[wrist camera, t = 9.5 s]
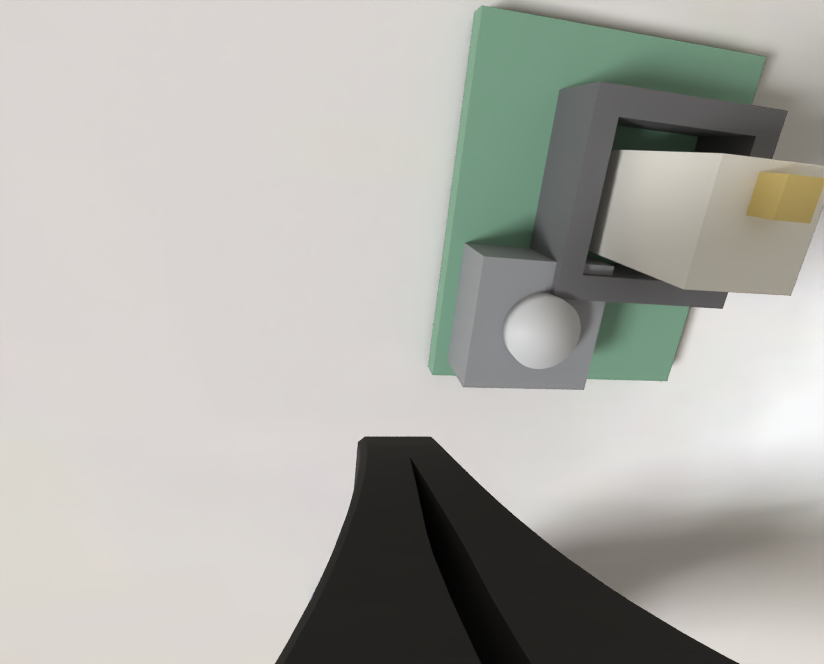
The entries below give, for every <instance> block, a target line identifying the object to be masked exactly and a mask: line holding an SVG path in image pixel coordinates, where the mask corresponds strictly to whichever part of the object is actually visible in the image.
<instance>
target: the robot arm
mask: <svg viewBox="0 0 824 664" xmlns="http://www.w3.org/2000/svg"><path fill="white" fill-rule="evenodd" d="M275 664H739V663H737V662H735V661H733V660H731V659H729V658H727V657H725V656H724V655H722V654H720V653H718V652H716V651H715V650H713V649H711V648H709V647H707V646H706V645H704V644H702V643H700V642H698V641H696V640H695V639H693V638H691V637H689V636H687V635H686V634H684V633H682V632H681V631H679V630H677V629H676V628H674V627H672V626H671V625H669V624H667V623H666V622H664V621H662V620H661V619H659V618H657V617H656V616H654V615H652V614H651V613H649V612H647V611H646V610H644V609H642V608H641V607H639V606H637V605H636V604H634V603H632V602H631V601H629V600H628V599H626V598H625V597H623V596H622V595H620V594H619V593H617V592H615V591H614V590H612V589H611V588H609V587H608V586H606V585H605V584H603V583H602V582H601V581H599V580H598V579H596V578H595V577H594V576H592V575H591V574H589V573H588V572H586V571H585V570H584V569H582V568H581V567H579V566H578V565H576V564H575V563H574V562H572V561H571V560H569V559H568V558H567V557H565V556H564V555H563V554H561V553H560V552H559V551H557V550H556V549H555V548H553V547H552V546H551V545H549V544H548V543H547V542H546V541H544V540H543V539H542V538H541V537H540V536H538V535H537V534H536V533H535V532H533V531H532V530H531V529H530V528H529V527H527V526H526V525H525V524H524V523H523V522H521V521H520V520H519V519H518V518H517V517H515V516H514V515H513V514H512V513H511V512H510V511H508V510H507V509H506V508H505V507H504V506H503V505H502V504H501V503H499V502H498V501H497V500H496V499H495V498H494V497H493V496H492V495H491V494H490V493H489V492H487V491H486V490H485V489H484V488H483V487H482V486H481V485H480V484H479V483H478V482H477V481H476V480H475V479H474V478H473V477H472V476H471V475H470V474H469V473H468V472H466V471H465V470H464V469H463V468H462V467H461V466H460V465H459V464H458V463H457V462H456V461H455V460H454V459H453V458H452V457H451V456H450V455H449V454H448V453H447V452H446V451H445V450H444V449H443V448H442V447H441V446H440V445H439V444H438V443H437V442H436V441H435V440H434V439H433V438H432V437H364V438H363V439H361V440H360V441H359V442H358V448H357V460H356V472H355V484H354V492H353V496H352V499H351V503H350V506H349V510H348V513H347V516H346V518H345V521H344V524H343V526H342V529H341V532H340V534H339V537H338V540H337V542H336V545H335V548H334V550H333V553H332V555H331V557H330V560H329V562H328V564H327V566H326V569H325V571H324V573H323V575H322V577H321V579H320V581H319V584H318V586H317V588H316V590H315V592H314V594H313V595H312V596H311V599H310V602H309V604H308V606H307V608H306V609H305V611H304V613H303V615H302V617H301V619H300V620H299V622H298V624H297V626H296V628H295V630H294V631H293V633H292V635H291V637H290V639H289V641H288V642H287V644H286V646H285V648H284V649H283V651H282V653H281V654H280V656H279V658H278V660H277V661H276V663H275Z"/></svg>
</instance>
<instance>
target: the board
mask: <svg viewBox="0 0 824 664" xmlns="http://www.w3.org/2000/svg"><path fill="white" fill-rule="evenodd" d="M765 60H766V57H765V56H759V55H754V54H748V53H743V52H737V51H732V50H726V49H720V48H715V47H709V46H704V45H698V44H693V43H687V42H682V41H676V40H671V39H665V38H660V37H654V36H649V35H643V34H637V33H632V32H626V31H621V30H615V29H610V28H604V27H599V26H593V25H588V24H582V23H577V22H571V21H566V20H560V19H555V18H549V17H543V16H538V15H532V14H527V13H521V12H516V11H510V10H505V9H499V8H494V7H488V6H483V5H482V6H481V7H480V8H478V9H477V10H476V11H475V12H474V19H473V27H472V34H471V42H470V50H469V57H468V65H467V72H466V80H465V88H464V95H463V103H462V111H461V118H460V126H459V134H458V141H457V149H456V156H455V164H454V172H453V179H452V187H451V195H450V202H449V210H448V217H447V225H446V233H445V240H444V248H443V256H442V263H441V271H440V279H439V286H438V294H437V301H436V309H435V317H434V324H433V332H432V340H431V347H430V355H429V363H428V367H429V369H430V371H431V373H432V375H453V376H457V378H458V379H459V381H460V383H461V384H462V386H463V387H477V388H524V389H572V390H584V387H585V383H586V379H608V380H646V381H667V380H668V376H669V373H670V370H671V367H672V363H673V360H674V357H675V354H676V350H677V347H678V344H679V341H680V337H681V334H682V331H683V327H684V324H685V321H686V318H687V314H688V311H689V308H690V307H703V308H719V309H723V306H724V303H725V300H726V297H727V294H728V292H719V291H702V290H684V289H681V288H679V287H676V286H674V285H671V284H669V283H667V282H664V281H662V280H659V279H657V278H654V277H652V276H649V275H647V274H644V273H642V272H640V271H637V270H635V269H632V268H630V267H627V266H625V265H622V264H620V263H617V262H615V261H613V260H610V259H608V258H605V257H603V256H600V255H598V254H595V253H593V252H590V251H588V250H589V246H590V242H591V237H592V233H593V228H594V224H595V220H596V215H597V211H598V206H599V202H600V198H601V193H602V189H603V184H604V180H605V176H606V171H607V167H608V162H609V158H610V154H611V150H639V151H668V152H698V153H724V154H733V155H741V156H749V157H757V158H766V159H772V157H773V154H774V151H775V148H776V145H777V142H778V139H779V136H780V133H781V130H782V127H783V124H784V121H785V118H786V115H787V112H788V111H786V110H779V109H773V108H766V107H760V106H754V105H752V102H753V99H754V96H755V92H756V89H757V86H758V83H759V79H760V76H761V73H762V70H763V66H764V63H765Z"/></svg>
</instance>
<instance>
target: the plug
mask: <svg viewBox="0 0 824 664" xmlns="http://www.w3.org/2000/svg"><path fill="white" fill-rule="evenodd" d="M823 206H824V166H823V165H815V164H807V163H799V162H790V161H782V160H774V159H766V158H757V157H749V156H741V155H733V154H724V153H698V152H668V151H639V150H611V154H610V158H609V162H608V167H607V171H606V176H605V180H604V184H603V189H602V193H601V198H600V202H599V206H598V211H597V215H596V220H595V224H594V228H593V233H592V237H591V242H590V246H589V250H588V251H590V252H593V253H595V254H598V255H600V256H603V257H605V258H608V259H610V260H613V261H615V262H617V263H620V264H622V265H625V266H627V267H630V268H632V269H635V270H637V271H640V272H642V273H644V274H647V275H649V276H652V277H654V278H657V279H659V280H662V281H664V282H667V283H669V284H671V285H674V286H676V287H679V288H681V289H684V290H702V291H719V292H736V293H753V294H771V295H788V296H791V294H792V291H793V288H794V286H795V283H796V280H797V278H798V275H799V272H800V269H801V267H802V264H803V261H804V258H805V256H806V253H807V250H808V247H809V245H810V242H811V239H812V236H813V234H814V231H815V228H816V226H817V223H818V220H819V217H820V215H821V212H822V209H823Z"/></svg>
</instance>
